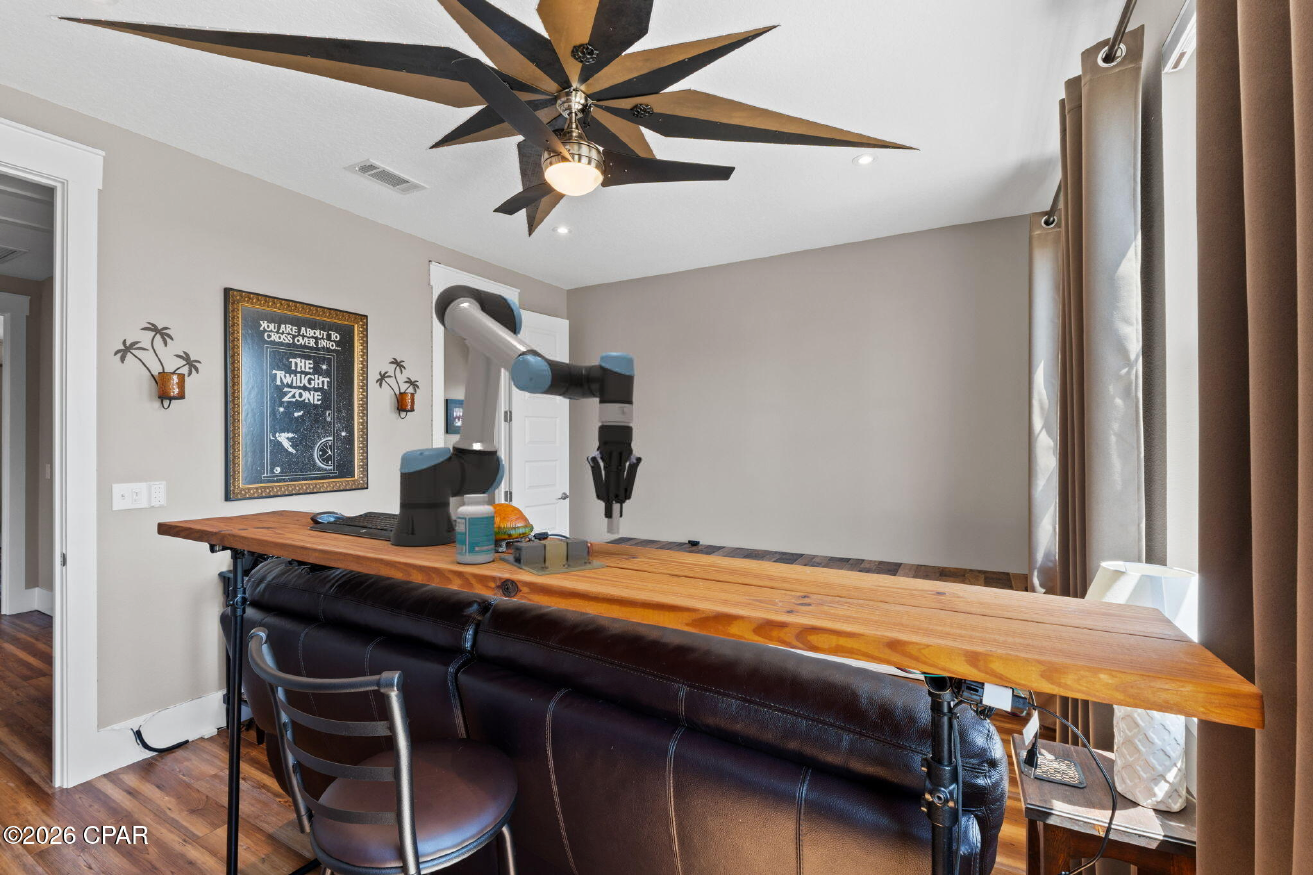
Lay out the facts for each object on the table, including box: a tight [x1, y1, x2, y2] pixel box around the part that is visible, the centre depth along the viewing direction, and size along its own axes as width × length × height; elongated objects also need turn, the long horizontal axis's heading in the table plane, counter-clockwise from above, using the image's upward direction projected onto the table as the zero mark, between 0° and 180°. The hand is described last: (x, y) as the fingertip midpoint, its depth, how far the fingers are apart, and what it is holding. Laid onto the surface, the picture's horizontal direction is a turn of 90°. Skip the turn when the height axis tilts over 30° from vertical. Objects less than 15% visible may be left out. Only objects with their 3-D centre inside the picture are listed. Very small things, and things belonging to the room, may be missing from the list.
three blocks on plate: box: [498, 537, 607, 576], centre depth 116 cm, size 20×14×4 cm
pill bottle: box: [455, 494, 496, 565], centre depth 118 cm, size 8×7×14 cm
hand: (613, 533), depth 125 cm, fingers closed
